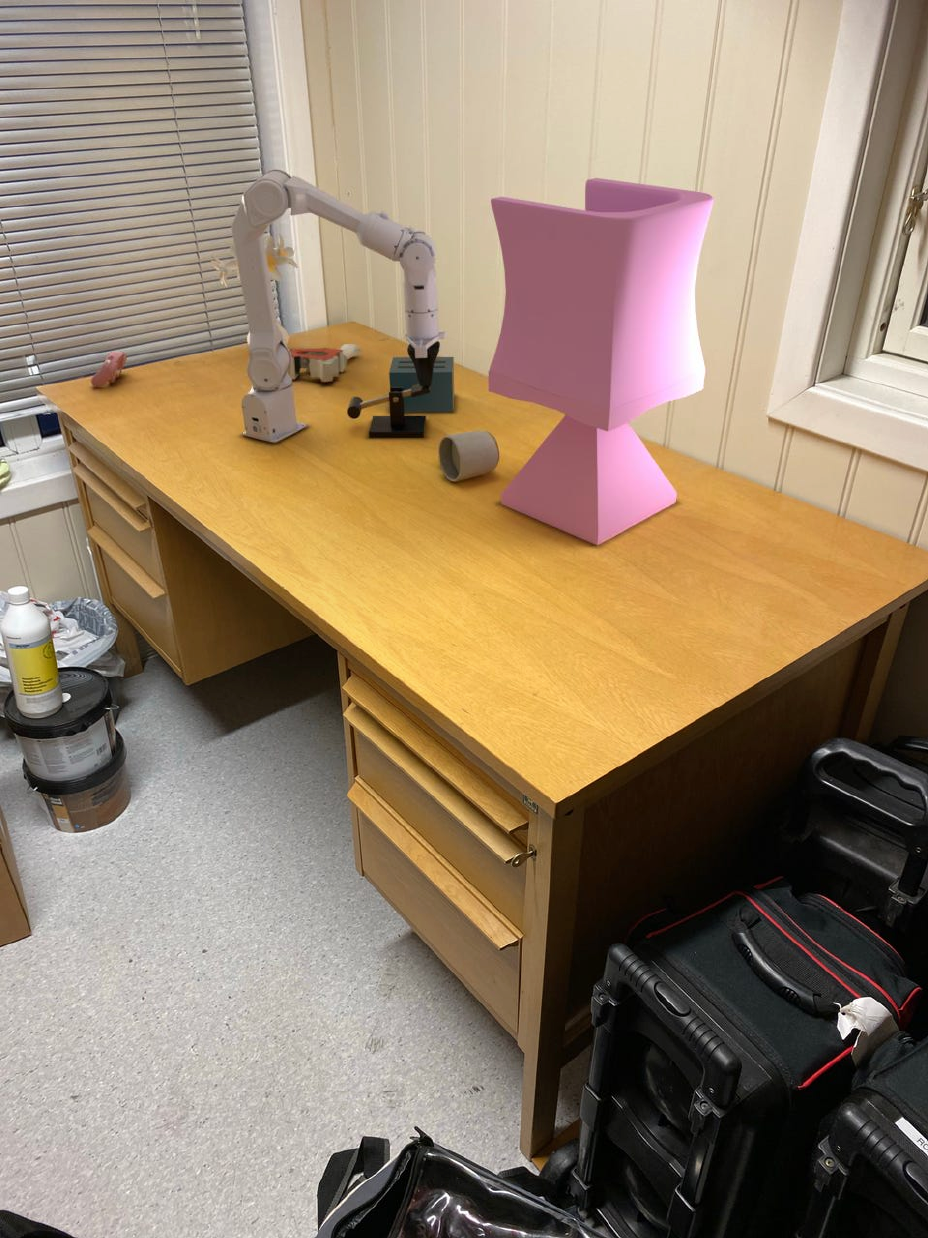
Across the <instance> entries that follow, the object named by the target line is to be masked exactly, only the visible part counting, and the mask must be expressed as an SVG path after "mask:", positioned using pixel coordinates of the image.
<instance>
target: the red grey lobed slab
mask: <svg viewBox="0 0 928 1238" xmlns="http://www.w3.org/2000/svg"><path fill="white" fill-rule="evenodd" d="M360 348H361V347H360V346H359V345H358V344H354V343H353V344H352V343H345V344H344V343H343V344H342V345H341V347H339V348H330V347H320V348H295V349H294V348H292V349H289V351H290V354H291V364H290V366H289V368H288V369H287V372H288V374H289V376H290V377H291V379H292V380H296V378H297V377H298V376H300V372H301V369H306V372H309V374H310V377H311V378H318V379H319V382H320V383H322V384H325V383H329V382H333V381H334V377H339V374H340V373H343V372H345V369H346V367H347V366H348V360H349V359H351V358H353V357H358V356H359V355H360V354H361V349H360Z"/></svg>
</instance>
